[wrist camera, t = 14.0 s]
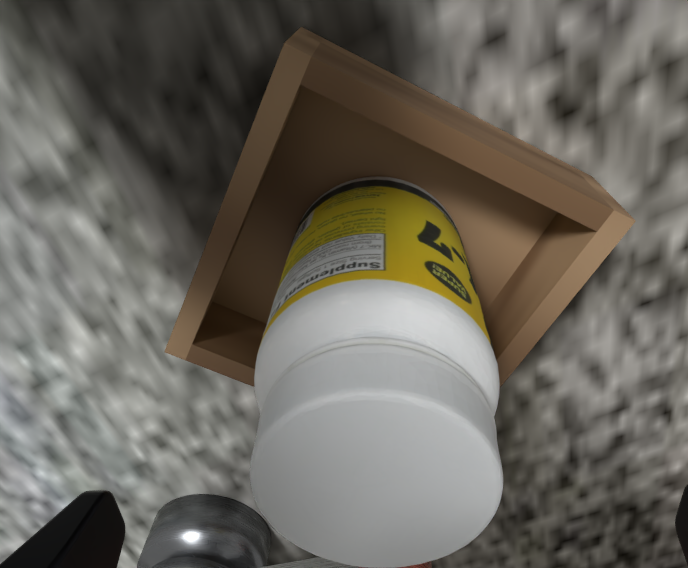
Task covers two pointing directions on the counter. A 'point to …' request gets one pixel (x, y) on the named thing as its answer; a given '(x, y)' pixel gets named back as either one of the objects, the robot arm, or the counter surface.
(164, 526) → the block
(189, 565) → the crank
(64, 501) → the counter surface
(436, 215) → the supplement bottle
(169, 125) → the counter surface
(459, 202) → the tray
